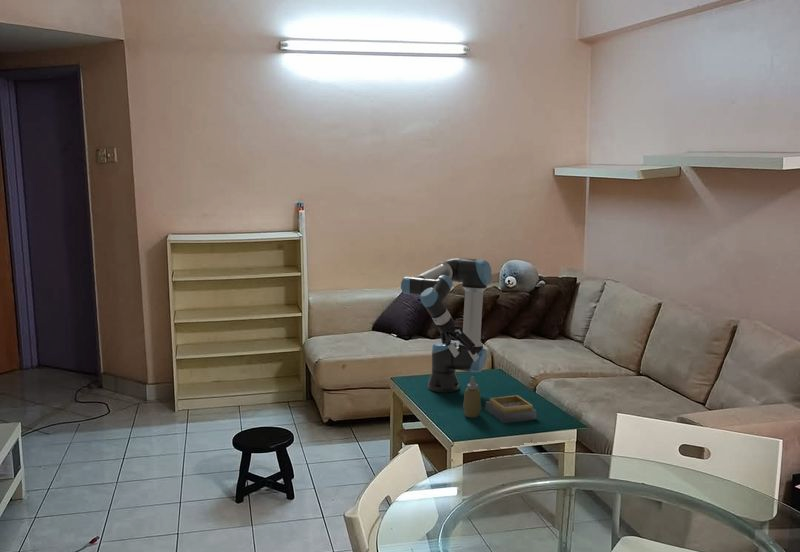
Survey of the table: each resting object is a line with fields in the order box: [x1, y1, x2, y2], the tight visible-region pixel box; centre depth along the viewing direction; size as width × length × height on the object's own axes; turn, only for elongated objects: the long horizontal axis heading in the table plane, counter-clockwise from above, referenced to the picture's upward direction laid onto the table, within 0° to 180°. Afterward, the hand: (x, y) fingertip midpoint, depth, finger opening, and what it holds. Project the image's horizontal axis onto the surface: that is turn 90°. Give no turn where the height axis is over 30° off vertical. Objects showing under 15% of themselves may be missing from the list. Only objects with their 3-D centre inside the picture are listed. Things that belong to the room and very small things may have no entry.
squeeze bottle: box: [462, 376, 482, 418], centre depth 346 cm, size 8×8×18 cm
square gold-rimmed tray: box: [484, 394, 538, 424], centre depth 349 cm, size 18×16×6 cm
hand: (466, 357), depth 344 cm, fingers open, 13 cm apart
